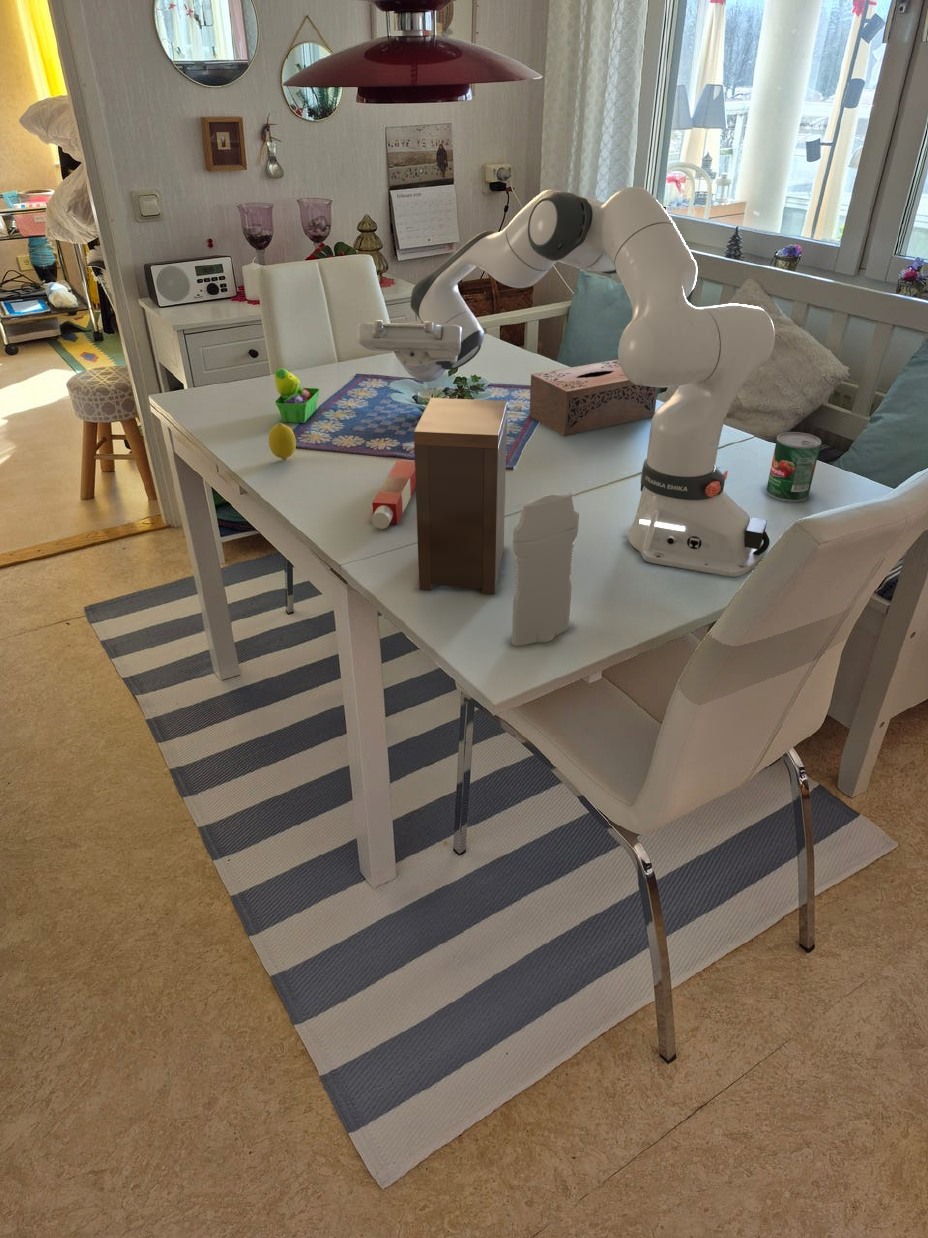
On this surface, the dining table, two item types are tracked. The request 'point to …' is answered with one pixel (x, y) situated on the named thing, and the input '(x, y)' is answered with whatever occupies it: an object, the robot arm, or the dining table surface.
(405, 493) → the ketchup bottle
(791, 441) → the canned tomato
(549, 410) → the tissue box cover
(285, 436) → the lemon
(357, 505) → the dining table surface
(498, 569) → the walnut stand
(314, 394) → the fruit basket
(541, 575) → the tall pale column
